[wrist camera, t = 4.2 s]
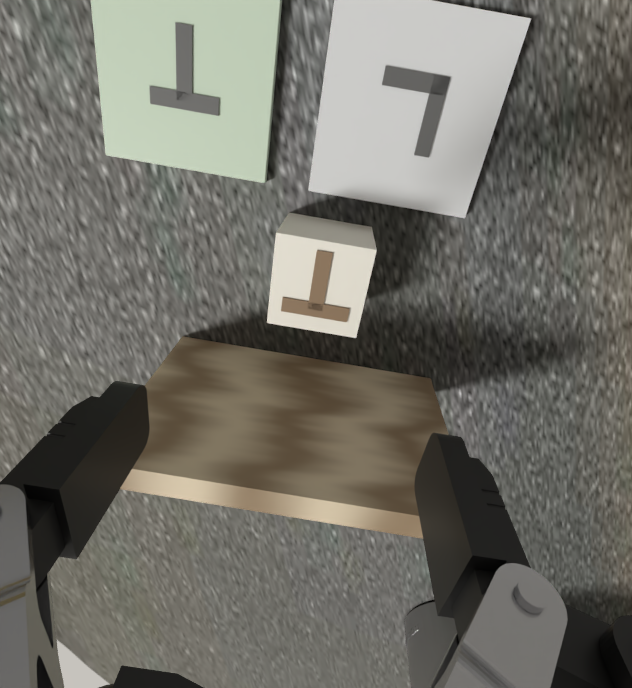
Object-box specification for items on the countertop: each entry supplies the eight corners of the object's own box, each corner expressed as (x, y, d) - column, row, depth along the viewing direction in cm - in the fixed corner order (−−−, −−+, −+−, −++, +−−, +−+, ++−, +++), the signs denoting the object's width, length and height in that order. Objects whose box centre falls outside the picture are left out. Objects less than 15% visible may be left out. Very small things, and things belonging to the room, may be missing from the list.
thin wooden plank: (430, 378, 29) (477, 525, 18) (424, 394, 29) (466, 545, 19) (182, 336, 28) (86, 461, 18) (183, 354, 29) (90, 484, 19)
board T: (284, -24, 19) (282, -29, 18) (266, 181, 23) (264, 183, 22) (92, -59, 18) (83, -65, 18) (111, 154, 23) (104, 155, 22)
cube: (371, 226, 24) (377, 250, 19) (354, 302, 26) (356, 339, 22) (289, 212, 24) (275, 233, 19) (280, 289, 26) (266, 323, 22)
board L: (526, 21, 19) (532, 18, 18) (462, 215, 23) (465, 218, 23) (337, -14, 19) (336, -19, 18) (309, 189, 23) (308, 190, 22)
